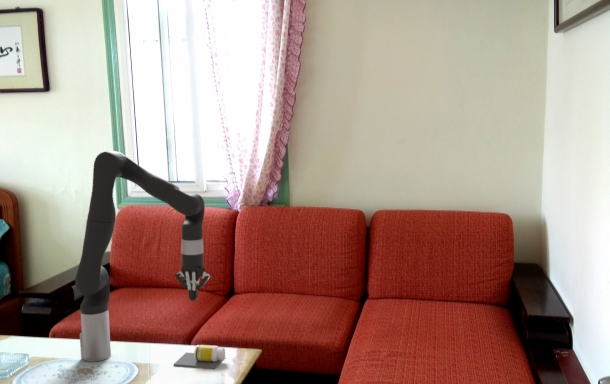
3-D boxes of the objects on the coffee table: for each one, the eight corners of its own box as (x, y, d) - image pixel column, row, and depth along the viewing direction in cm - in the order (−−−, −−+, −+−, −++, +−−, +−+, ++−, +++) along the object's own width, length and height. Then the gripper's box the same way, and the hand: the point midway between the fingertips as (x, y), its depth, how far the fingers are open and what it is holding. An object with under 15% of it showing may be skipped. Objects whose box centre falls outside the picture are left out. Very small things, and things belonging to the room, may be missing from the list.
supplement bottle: (194, 363, 187) (221, 365, 186) (193, 350, 186) (220, 351, 184) (200, 355, 193) (226, 356, 191) (198, 341, 191) (225, 342, 189)
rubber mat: (173, 365, 186) (173, 364, 186) (186, 354, 196) (186, 352, 196) (214, 369, 183) (214, 367, 183) (225, 357, 193) (224, 355, 193)
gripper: (214, 250, 189) (215, 298, 191) (179, 248, 192) (180, 295, 194) (205, 255, 182) (206, 304, 184) (169, 252, 185) (171, 301, 187)
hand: (193, 300), depth 189 cm, fingers closed
